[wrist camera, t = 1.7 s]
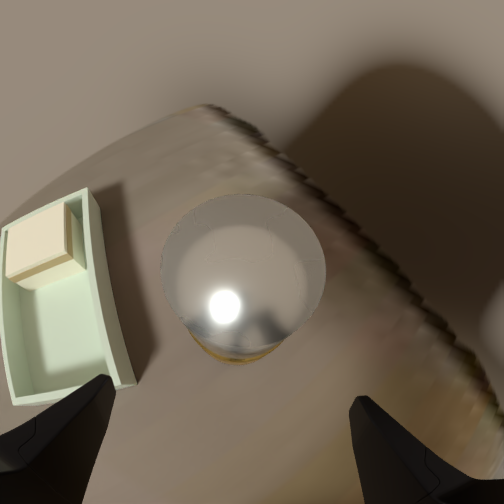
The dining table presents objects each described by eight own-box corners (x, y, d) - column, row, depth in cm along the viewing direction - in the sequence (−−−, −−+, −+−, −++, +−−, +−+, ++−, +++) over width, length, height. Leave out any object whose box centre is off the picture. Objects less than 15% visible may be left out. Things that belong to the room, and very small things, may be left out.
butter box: (86, 270, 21) (65, 250, 18) (29, 292, 20) (5, 276, 16) (81, 224, 23) (64, 200, 20) (28, 247, 22) (8, 228, 18)
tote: (137, 384, 18) (121, 384, 15) (36, 405, 16) (13, 405, 13) (100, 208, 25) (87, 187, 22) (19, 243, 22) (1, 227, 19)
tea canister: (288, 324, 21) (356, 253, 10) (241, 381, 19) (258, 388, 7) (231, 280, 23) (234, 169, 11) (183, 333, 20) (124, 269, 9)
